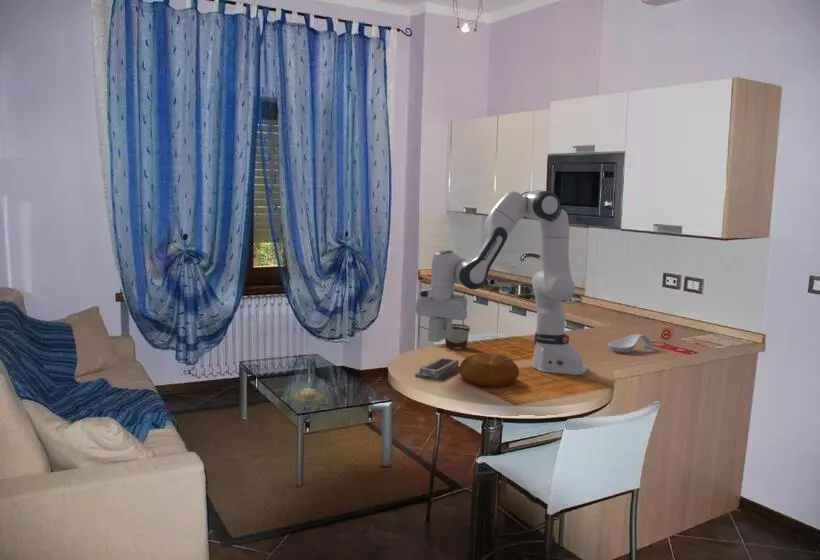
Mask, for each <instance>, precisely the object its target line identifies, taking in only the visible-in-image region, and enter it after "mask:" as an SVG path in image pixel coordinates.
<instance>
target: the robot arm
mask: <svg viewBox="0 0 820 560" xmlns="http://www.w3.org/2000/svg"><path fill="white" fill-rule="evenodd" d="M522 218H526V219H531V220H532V219H533V220H538V221H539V223H540V242H539V243H540V245H539V247H540V248H539V257H540V260H541V264H542V270H539V271H537V272H536V273H535V274H534V275H533V276H532V279H531V285H532V288H533V291H534V292H533V293H534V298H535V307H536V330H535V332H534V341H533V342H534V351H533V357H532V359H531V362H530V367H531V368H533V369H536V370H538V371H539V372H541V373H551V374H561V375H562V374H563V375H564V374H565V375H573V376H574V375H575V376H580V375H584V374H586V373H587V372H588V371H589V370H588V369H589V367H588V366H587V365H583V359H582V358H583V357H582V354H581V353H580V352H579V351H578V350H577V349H575V347H574V346H572V345H571V344H570V343H569V342H570V334H566V333H565V323H566V312H565V310H564V306H563V302H562V301H568V300H570V299H571V297H573V295H574V294H575V289H576V287H575V282H574V281H573V278H572V274H571V267H570V260H569V257H570V256H569V251H570V249H569V248H570V247H569V245H570V224H569V216H568V213H567V211H566V210H564V209H562V207H561V202H560V199H559V197H558V196H557V194H555V193H554V192H551V191H549V190H541V189H540V190H533V191H529V190H528V191H525V192H523V193H519V192H517V191H514V190H513V191H508V192H506V193H505V194H504V195H503V196H502V197H501V198H500V200H498V201H497V203H496V204H495V205H494V206H493V208H492V209H491V210H490V211H489V213H488V215H487V216H486V219H485V221H484V224H483V226H484V227H483V228H484V232H485V233H486V236H487V237H486V240H485V243H484V244H483V246H482V248H481V249H480V251H479V252H478V254H477V256H475V258H474V259H472V260H469V259H466V258H465V257H461V256H459V255H458V254H456V253H455V252H454V251H453V250H440V251H436V252H435V253H434V255H433V256H432V260H431V269H430V270H431V271H430V275H431V282H430V287H429V288H426V289H423V290H420V291H418V294H417V296H418V297H417V300H416V302H415V314H416V315H417V316H424V317H429V320H431V319H434V318H436V317H438V318H446V319H447V321H448V323H447V324H446V325H444V330H449V325H450V324H451V322H452V323H453V320H455V321H464V320H466V319H467V318H468V309H467V306H468V299H467V297H466V296H464V295H463V294H454V290H455V289H454V288H455V284H459V285H462V286H464V287H466V288H467V289H469V290H477V289H480V288H482V287H483V286H484V285H485V283H486V282H487V280H488V277H489V272H490V270H491V267H492V265H493V264H494V262H495V260H496V259H497V257H498V256H499V254H500V252H501V250H502V249H503V247H504V246H505V243H506V242H507V240H508V238H509V236H510V234H511V233H512V232H513V230H514V229H515V227H517V225H518V224H519V222H520V220H521V219H522Z"/></svg>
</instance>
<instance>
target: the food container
mask: <svg viewBox="0 0 820 560" xmlns="http://www.w3.org/2000/svg"><path fill="white" fill-rule="evenodd" d="M470 332H471V328H470V326H469V325H467V324H463V323H462V324H461V323H452V334H451V336H450V337H448V338H446V339H444V340H445V348H450V347H460V348H459V349H462V348H466V349H467V347H468V339H469V333H470Z"/></svg>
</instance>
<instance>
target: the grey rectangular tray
mask: <svg viewBox="0 0 820 560" xmlns="http://www.w3.org/2000/svg"><path fill="white" fill-rule="evenodd" d="M457 373H460V365H459V359H454V358H447V357H440V358H438V359H436V360H434V361H432V362H430V363H428V364H426V365H423V366H422V367H420V368H419V372H417V373H415V376H414V377H415V378H421V379H425V380H432V381H438V382H439V381H440V382H443V381H444V380H447V379H448V378H450V377H452V376H454V375H455V374H457Z"/></svg>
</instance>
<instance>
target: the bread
mask: <svg viewBox="0 0 820 560" xmlns="http://www.w3.org/2000/svg"><path fill="white" fill-rule="evenodd" d="M459 366H460V371H459V373H460V376H461V378H462V379H463V380H465V381H466V382H468V383H470V384H473V385H477V386H480V387H489V388H491V387H493V388H495V387H496V388H499V387H505V386H508V385H509V384H510V383H513V382H515V381H516V380H517V379H518V377H519V375H520V369H519V366H518V365H517V364H516V362H514V361H513V359H511V357H508V356H506V355H503V354H501V353H487V352H486V353H482V352H481V353H476V354H473V355H470V356H467V357H466V358H464V359H463V360H462V361H461V363H460V365H459Z"/></svg>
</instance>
